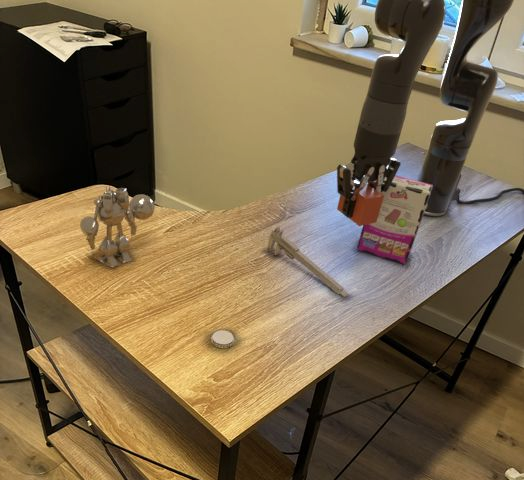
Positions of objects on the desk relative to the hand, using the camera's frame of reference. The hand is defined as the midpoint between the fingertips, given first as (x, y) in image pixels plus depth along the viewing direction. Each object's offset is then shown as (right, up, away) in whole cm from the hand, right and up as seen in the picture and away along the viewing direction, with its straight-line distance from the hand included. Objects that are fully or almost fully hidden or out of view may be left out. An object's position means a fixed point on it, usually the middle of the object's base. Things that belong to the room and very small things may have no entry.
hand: (357, 213), depth 103 cm
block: (0, 0, 0) cm, 0 cm away
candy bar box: (+8, -5, +13) cm, 16 cm away
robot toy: (-46, -8, 0) cm, 47 cm away
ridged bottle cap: (-25, -25, -15) cm, 38 cm away
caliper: (-10, -11, +3) cm, 15 cm away
